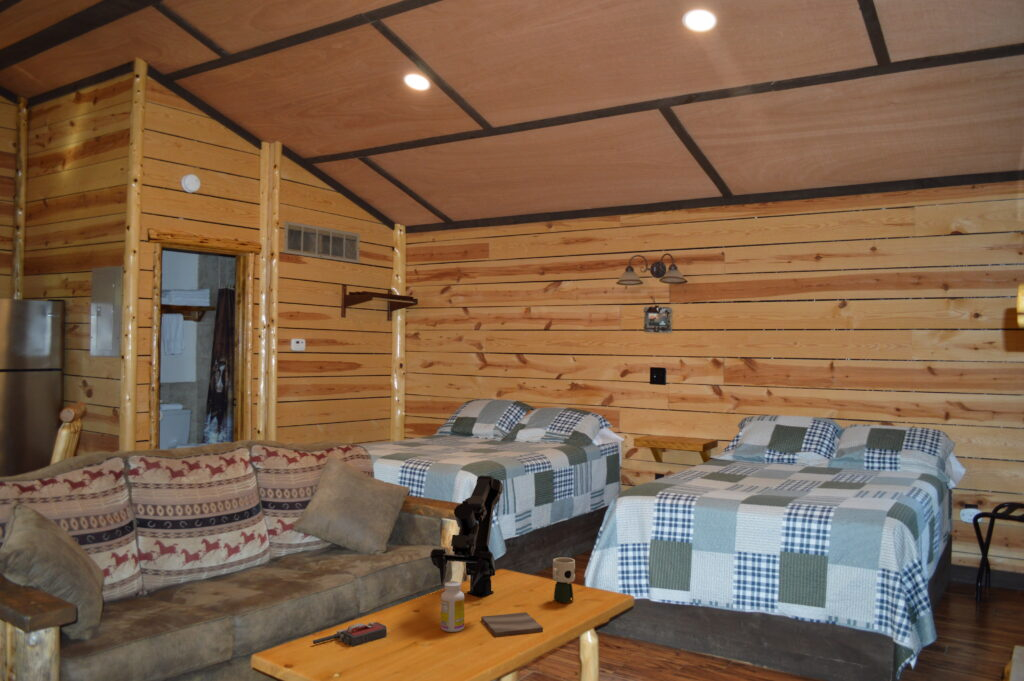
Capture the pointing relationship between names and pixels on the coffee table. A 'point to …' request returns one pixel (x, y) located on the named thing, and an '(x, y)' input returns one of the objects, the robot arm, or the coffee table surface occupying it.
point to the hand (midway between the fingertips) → (457, 584)
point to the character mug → (563, 578)
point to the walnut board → (511, 624)
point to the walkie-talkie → (358, 634)
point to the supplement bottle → (452, 607)
